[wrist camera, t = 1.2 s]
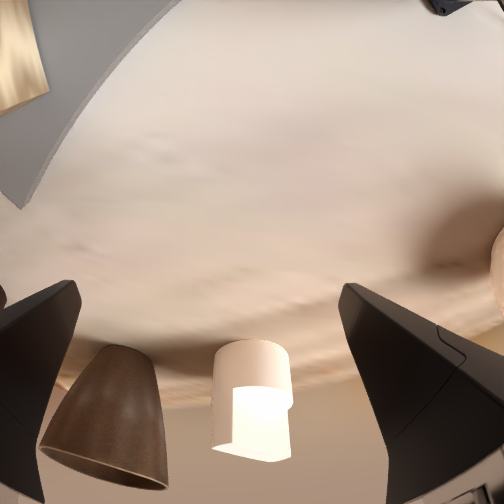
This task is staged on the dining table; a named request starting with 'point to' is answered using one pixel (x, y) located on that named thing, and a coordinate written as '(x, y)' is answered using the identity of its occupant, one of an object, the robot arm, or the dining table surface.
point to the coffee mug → (2, 298)
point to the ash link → (19, 58)
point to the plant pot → (112, 423)
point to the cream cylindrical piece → (251, 400)
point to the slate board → (67, 78)
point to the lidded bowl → (498, 269)
